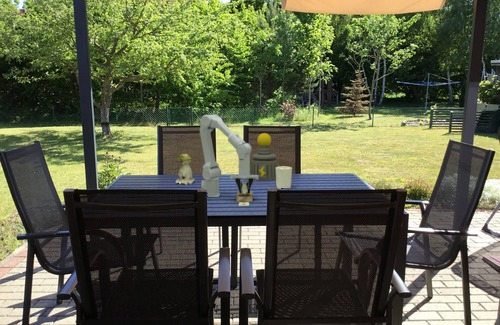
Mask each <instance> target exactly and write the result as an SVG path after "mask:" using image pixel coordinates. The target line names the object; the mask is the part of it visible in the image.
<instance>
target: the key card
mask: <svg viewBox="0 0 500 325" xmlns="http://www.w3.org/2000/svg"><path fill="white" fill-rule="evenodd" d="M249 205H250V202H238V206H239V207H249Z"/></svg>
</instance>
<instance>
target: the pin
mask: <svg viewBox="0 0 500 325" xmlns="http://www.w3.org/2000/svg"><path fill="white" fill-rule="evenodd" d="M240 186H241V197H248V189H249V183H248V181H240Z"/></svg>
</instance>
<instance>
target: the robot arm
mask: <svg viewBox="0 0 500 325" xmlns="http://www.w3.org/2000/svg"><path fill="white" fill-rule="evenodd" d="M199 124H200V126H199V127H200V128H199V136H200V142H201V146H202V152H203V156H204V164H203V166H202V172H201V173H202V178H203V179H202V180H201V185H200V186H201V189H202V188H203V189H206V190H207V192H208V197H207V198H219V197H220V195H221V193H220V185H219V184H220V183H219V182H220V181H219V179H220V177H221V175H222V169H221V168H220V165H219V163H218V162H217V161H216V157H215V152H214V145H213V141H212V134H211V132H213V130H214V129H218V130H219V131H220V132H221V133H223V135H224V136H226V138H227V141H228V143H229V144H230V145H231V146H232V147H233V148H234V149H235V153H236V154H237V157H238V174H231V175H230V176H229V178H230V179H229V180H234V181H235V183H236V186H237V189H238V191H239V193H241V180H247V182H248V193H250V191H251V187H252V185H253V183H254V179H258V175H251V173H250V163H251V161H250V160H251V158H250V157H251V156H250V155H251V153H252V149H253V148H252V145H251V144H250V143H248V142H246V141H245V140H243V139H242V137H241V136H240V134H239V133H235V132H232V130H231V129H230V128H229V127H228V126H227V125H226V123H225V122H224V121H223V119H222V118H221V117H220V116H219V114H205V115H202V116H201V118H200V119H199Z"/></svg>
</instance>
